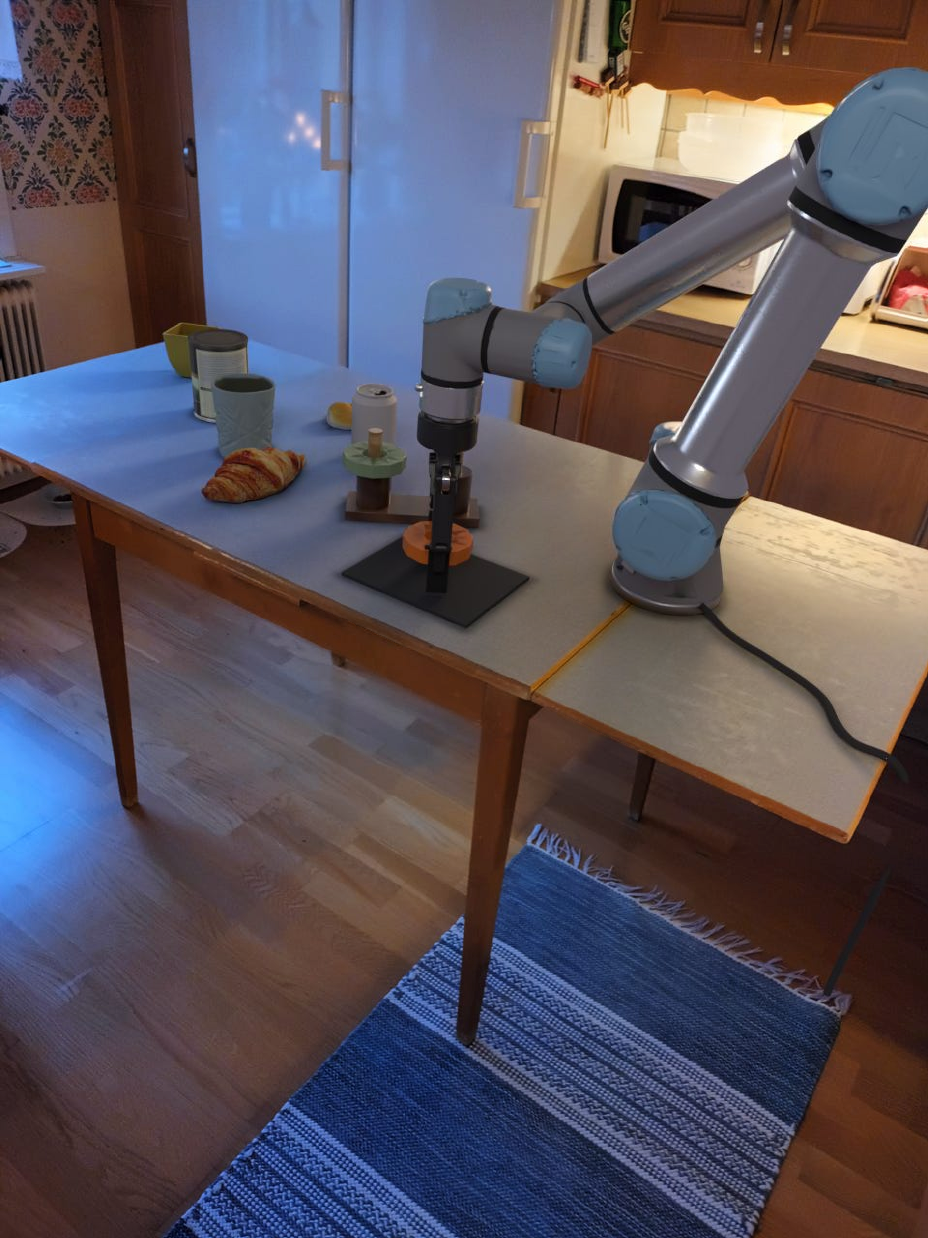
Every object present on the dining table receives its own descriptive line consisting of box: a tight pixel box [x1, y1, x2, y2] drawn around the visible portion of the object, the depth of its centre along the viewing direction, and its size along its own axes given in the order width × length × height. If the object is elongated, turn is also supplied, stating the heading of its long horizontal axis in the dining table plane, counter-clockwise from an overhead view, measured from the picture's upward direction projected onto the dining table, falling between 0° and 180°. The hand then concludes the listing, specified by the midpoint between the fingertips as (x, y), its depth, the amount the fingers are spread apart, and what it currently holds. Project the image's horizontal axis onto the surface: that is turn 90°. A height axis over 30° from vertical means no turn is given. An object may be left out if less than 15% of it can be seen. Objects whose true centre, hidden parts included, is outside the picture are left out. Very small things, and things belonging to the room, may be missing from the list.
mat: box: [341, 536, 530, 629], centre depth 125 cm, size 20×16×1 cm
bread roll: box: [325, 401, 352, 431], centre depth 170 cm, size 8×9×4 cm
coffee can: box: [188, 328, 250, 424], centre depth 166 cm, size 10×10×14 cm
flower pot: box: [162, 322, 222, 379], centre depth 184 cm, size 9×9×9 cm
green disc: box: [342, 442, 407, 478], centre depth 136 cm, size 9×9×2 cm
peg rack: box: [344, 428, 480, 529], centre depth 137 cm, size 20×7×13 cm, turn 92°
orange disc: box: [402, 521, 474, 566], centre depth 122 cm, size 9×9×2 cm
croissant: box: [201, 446, 307, 504], centre depth 143 cm, size 21×10×8 cm, turn 147°
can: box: [350, 383, 398, 446], centre depth 155 cm, size 8×8×12 cm
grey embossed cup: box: [211, 373, 276, 459], centre depth 152 cm, size 10×10×12 cm
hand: (435, 571), depth 125 cm, fingers closed on orange disc, 9 cm apart
